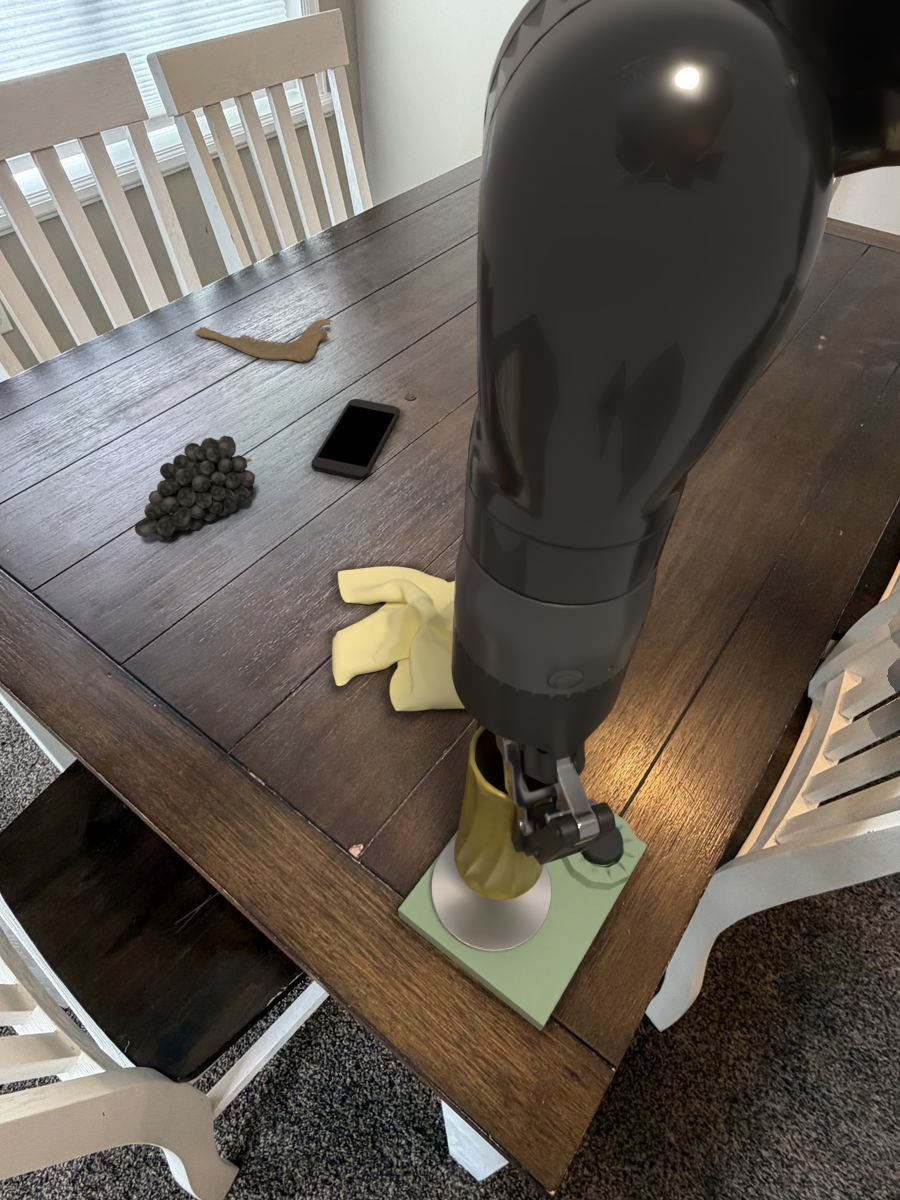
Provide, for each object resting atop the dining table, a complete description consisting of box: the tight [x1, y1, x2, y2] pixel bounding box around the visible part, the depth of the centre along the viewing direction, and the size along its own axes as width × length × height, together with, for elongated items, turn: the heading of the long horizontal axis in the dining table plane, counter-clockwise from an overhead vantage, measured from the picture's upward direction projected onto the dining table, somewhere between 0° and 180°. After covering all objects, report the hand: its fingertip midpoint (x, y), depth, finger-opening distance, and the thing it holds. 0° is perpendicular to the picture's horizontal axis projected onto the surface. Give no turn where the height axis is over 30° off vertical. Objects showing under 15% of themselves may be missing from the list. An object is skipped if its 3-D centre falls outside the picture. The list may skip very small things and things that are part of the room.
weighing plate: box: [431, 839, 552, 953], centre depth 55 cm, size 9×9×1 cm
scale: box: [397, 812, 648, 1032], centre depth 57 cm, size 16×13×4 cm
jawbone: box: [193, 318, 333, 362], centre depth 107 cm, size 9×20×2 cm, turn 95°
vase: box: [454, 725, 552, 900], centre depth 44 cm, size 6×6×14 cm
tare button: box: [583, 827, 623, 865], centre depth 57 cm, size 3×3×2 cm
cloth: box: [331, 565, 465, 712], centre depth 72 cm, size 22×19×6 cm
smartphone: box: [311, 398, 401, 480], centre depth 94 cm, size 7×15×1 cm, turn 165°
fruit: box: [134, 435, 256, 541], centre depth 82 cm, size 9×8×15 cm
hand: (511, 793), depth 42 cm, fingers closed on vase, 5 cm apart
